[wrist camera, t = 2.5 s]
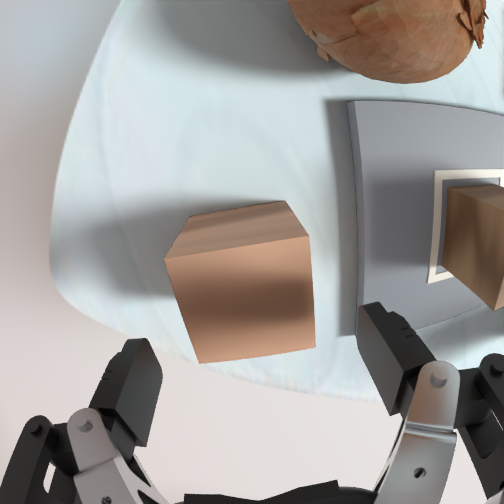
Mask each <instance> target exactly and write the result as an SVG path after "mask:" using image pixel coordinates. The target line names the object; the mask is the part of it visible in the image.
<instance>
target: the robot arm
mask: <svg viewBox="0 0 504 504" xmlns="http://www.w3.org/2000/svg"><path fill="white" fill-rule="evenodd" d="M357 346H358V350H359V352H360V354H361V356H362V359H363V361H364V363H365V365H366V367H367V369H368V371H369V373H370V375H371V377H372V379H373V381H374V383H375V385H376V387H377V389H378V392H379V394H380V396H381V398H382V400H383V402H384V404H385V407H386V409H387V411H388V413H389V415H390V416H392V415H394V414H397V413H400V414H401V416H402V418H403V419H402V422H401V425H400V428H399V430H398V433H397V436H396V439H395V441H394V444H393V447H392V449H391V452H390V454H389V457H388V459H387V461H386V464H385V466H384V468H383V470H382V472H381V474H380V476H379V478H378V480H377V482H376V484H375V487H374V489H373V490H372V491H370V490H366V489H362V488H356V487H339V486H338V481H337V480H333V481H329V482H325V483H320V484H315V485H310V486H305V487H299V488H296V489H294V490H291V491H288V492H285V493H283V494H280V495H277V496H274V497H271V498H268V499H264V500H260V501H256V500H249V499H242V498H236V497H231V496H225V495H220V494H214V495H211V494H210V495H209V494H205V495H204V494H184V495H185V496H184V502H179V503H175V504H439V502H440V500H441V497H442V494H443V491H444V488H445V485H446V481H447V478H448V474H449V471H450V467H451V463H452V459H453V455H454V450H455V446H456V441H457V434H456V432H453V429H456V428H457V429H458V431H459V433H460V435H461V438H462V440H463V442H464V444H465V446H466V448H467V451H468V453H469V455H470V457H471V460H472V462H473V464H474V467H475V469H476V472H477V474H478V476H479V479H480V481H481V484H482V487H483V489H484V492H485V495H486V497H487V500H488V501H487V502H486V504H504V355H501V354H497V353H493V354H489V355H487V356H485V357H484V358H483V359H482V361H481V363H480V366H479V367H477V368H471V369H464V370H457V369H456V367H455V366H453V365H452V364H450V363H448V362H445V361H437V360H436V359H435V357H434V356H433V355H432V353H431V352H430V350H429V349H428V348H427V346H426V345H425V344H424V342H423V341H422V340H421V339H420V337H419V336H418V335H416V332H415V331H414V329H413V328H411V326H410V324H409V323H408V322H407V321H406V319H405V318H404V317H403V316H401V315H399V314H397V313H396V312H394V311H391V312H387V311H386V310H385V308H384V307H383V306H382V304H381V303H380V302H378V301H377V302H373V303H369V304H364V305H360V306H359V308H358V323H357ZM162 375H163V374H162V369H161V366H160V364H159V362H158V360H157V358H156V356H155V353H154V351H153V349H152V347H151V345H150V343H149V341H148V340H147V339H146V338H139V339H128V340H127V341H126V343H125V345H124V347H123V349H122V351H121V352H118V353H117V354H116V355H115V356H114V357H113V358H112V359H111V360H110V361H109V364H108V366H107V368H106V370H105V373H104V374H103V376H102V380H101V381H100V383H99V385H98V387H97V389H96V391H95V393H94V396H93V398H92V400H91V402H90V405H89V407H88V408H84V409H81V410H78V411H77V412H75V413H74V414H73V415H72V416H71V417H70V419H69V421H68V422H67V423H61V424H54V425H53V424H52V423H51V422H50V421H49V420H48V419H47V418H46V417H45V416H42V415H39V416H35V417H33V418H31V419H30V420H29V421H28V422H27V423H26V424H25V426H24V428H23V430H22V433H21V435H20V437H19V439H18V442H17V444H16V447H15V449H14V451H13V454H12V456H11V459H10V462H9V464H8V467H7V470H6V472H5V475H4V478H3V481H2V484H1V487H0V504H169V503H168V502H167V501H166V499H165V498H164V497H163V496H162V495H161V494H160V493H159V492H158V491H157V489H156V488H155V486H154V485H153V483H152V482H151V480H150V478H149V477H148V475H147V474H146V472H145V470H144V469H143V467H142V465H141V463H140V462H139V460H138V458H137V456H136V455H135V454H134V453H133V452H134V448H135V446H140V447H146V445H147V441H148V437H149V432H150V428H151V424H152V420H153V416H154V412H155V408H156V403H157V399H158V395H159V392H160V388H161V384H162V378H163V377H162ZM492 411H493V412H494V414H495V416H496V417H497V419H496V417H495V416H494V414H493V412H492ZM497 420H498V421H499V423H500V425H501V426H500V425H499V423H498V421H497ZM501 427H502V428H503V430H502V428H501ZM49 462H50V463H51V464H53V465H54V466H55V467H56V469H55V472H54V475H53V479H52V482H51V486H50V489H49V493H47V492H46V491H45V489H44V486H43V482H44V478H45V475H46V471H47V468H48V465H49Z"/></svg>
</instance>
